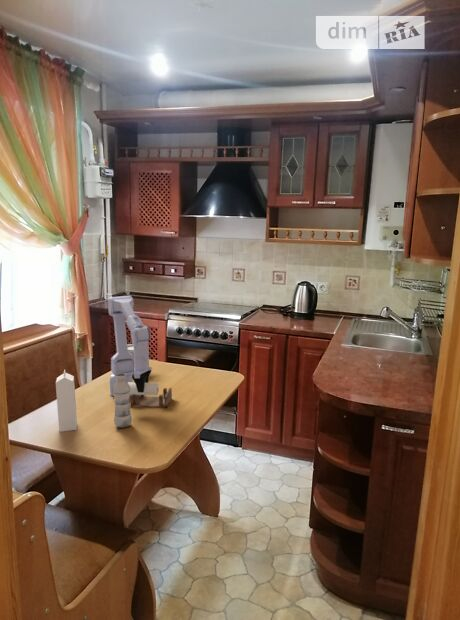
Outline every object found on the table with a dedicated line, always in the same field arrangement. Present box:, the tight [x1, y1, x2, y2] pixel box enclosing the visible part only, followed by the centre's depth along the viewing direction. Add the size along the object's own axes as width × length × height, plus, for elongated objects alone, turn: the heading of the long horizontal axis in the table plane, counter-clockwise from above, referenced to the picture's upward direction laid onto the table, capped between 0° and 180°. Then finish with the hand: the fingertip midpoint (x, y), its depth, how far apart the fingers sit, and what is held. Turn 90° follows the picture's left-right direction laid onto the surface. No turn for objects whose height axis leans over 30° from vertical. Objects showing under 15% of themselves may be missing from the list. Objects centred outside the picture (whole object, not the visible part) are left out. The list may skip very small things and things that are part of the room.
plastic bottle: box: [113, 374, 133, 429], centre depth 167 cm, size 6×7×20 cm
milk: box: [55, 369, 78, 433], centre depth 166 cm, size 6×6×22 cm
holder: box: [129, 387, 173, 409], centre depth 191 cm, size 15×10×5 cm, turn 85°
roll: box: [128, 381, 160, 396], centre depth 180 cm, size 12×5×5 cm, turn 85°
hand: (142, 389), depth 180 cm, fingers closed on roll, 5 cm apart
